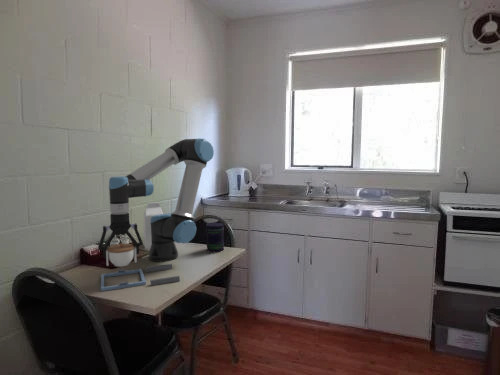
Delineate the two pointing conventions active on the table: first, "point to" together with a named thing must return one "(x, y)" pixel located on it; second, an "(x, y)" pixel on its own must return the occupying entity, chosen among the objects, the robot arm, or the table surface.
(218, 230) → the storage jar
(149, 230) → the milk
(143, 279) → the frame
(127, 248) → the lidded jar
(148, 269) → the charcoal rails
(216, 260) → the table surface
